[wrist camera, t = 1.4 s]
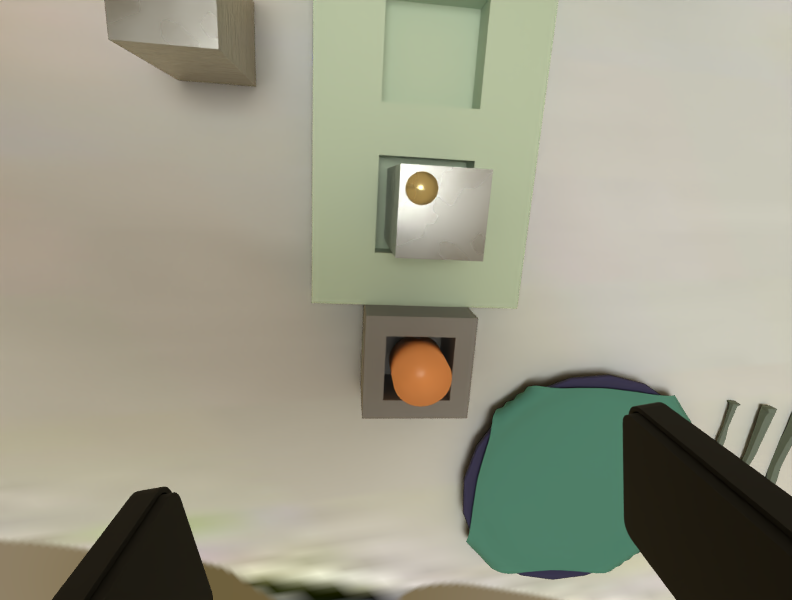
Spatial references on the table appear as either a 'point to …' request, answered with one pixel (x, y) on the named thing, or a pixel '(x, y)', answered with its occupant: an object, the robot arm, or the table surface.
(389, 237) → the seated billet
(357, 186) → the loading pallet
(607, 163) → the table surface
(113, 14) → the knobbed taupe block
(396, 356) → the button
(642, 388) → the green-topped navy dish
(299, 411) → the table surface
